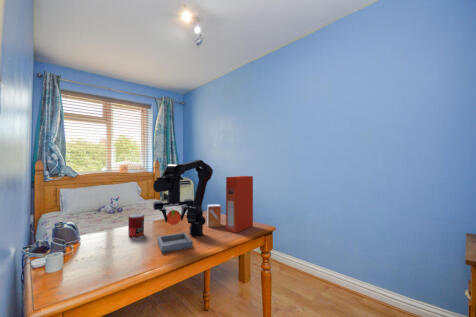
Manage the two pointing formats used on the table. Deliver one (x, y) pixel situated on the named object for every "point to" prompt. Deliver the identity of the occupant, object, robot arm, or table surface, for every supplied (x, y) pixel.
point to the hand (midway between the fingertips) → (173, 221)
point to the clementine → (173, 217)
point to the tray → (174, 242)
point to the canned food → (136, 225)
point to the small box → (213, 215)
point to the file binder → (239, 203)
